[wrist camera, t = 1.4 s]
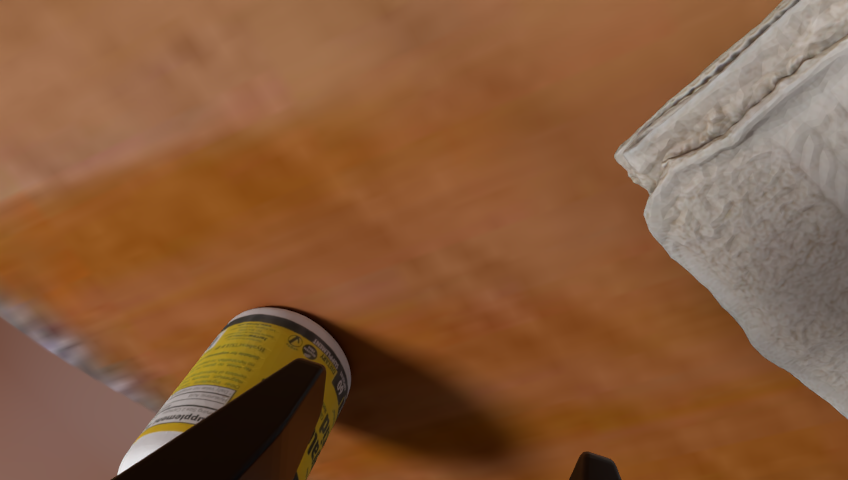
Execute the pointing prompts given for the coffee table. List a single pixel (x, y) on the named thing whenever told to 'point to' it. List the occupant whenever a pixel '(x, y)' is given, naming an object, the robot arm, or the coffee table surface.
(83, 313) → the coffee table surface
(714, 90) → the washcloth
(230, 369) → the supplement bottle
